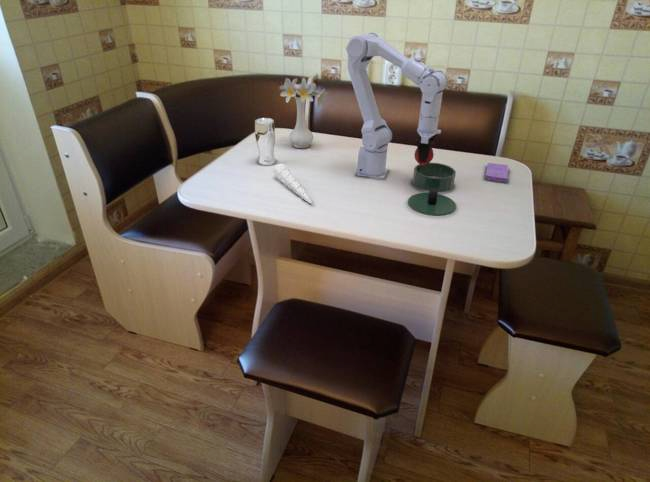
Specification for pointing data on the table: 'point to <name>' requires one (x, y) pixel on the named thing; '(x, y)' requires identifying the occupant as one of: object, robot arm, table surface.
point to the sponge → (497, 172)
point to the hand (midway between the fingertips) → (423, 158)
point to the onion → (427, 158)
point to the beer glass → (265, 140)
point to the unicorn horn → (289, 180)
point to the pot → (427, 182)
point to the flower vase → (301, 108)
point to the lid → (432, 203)
